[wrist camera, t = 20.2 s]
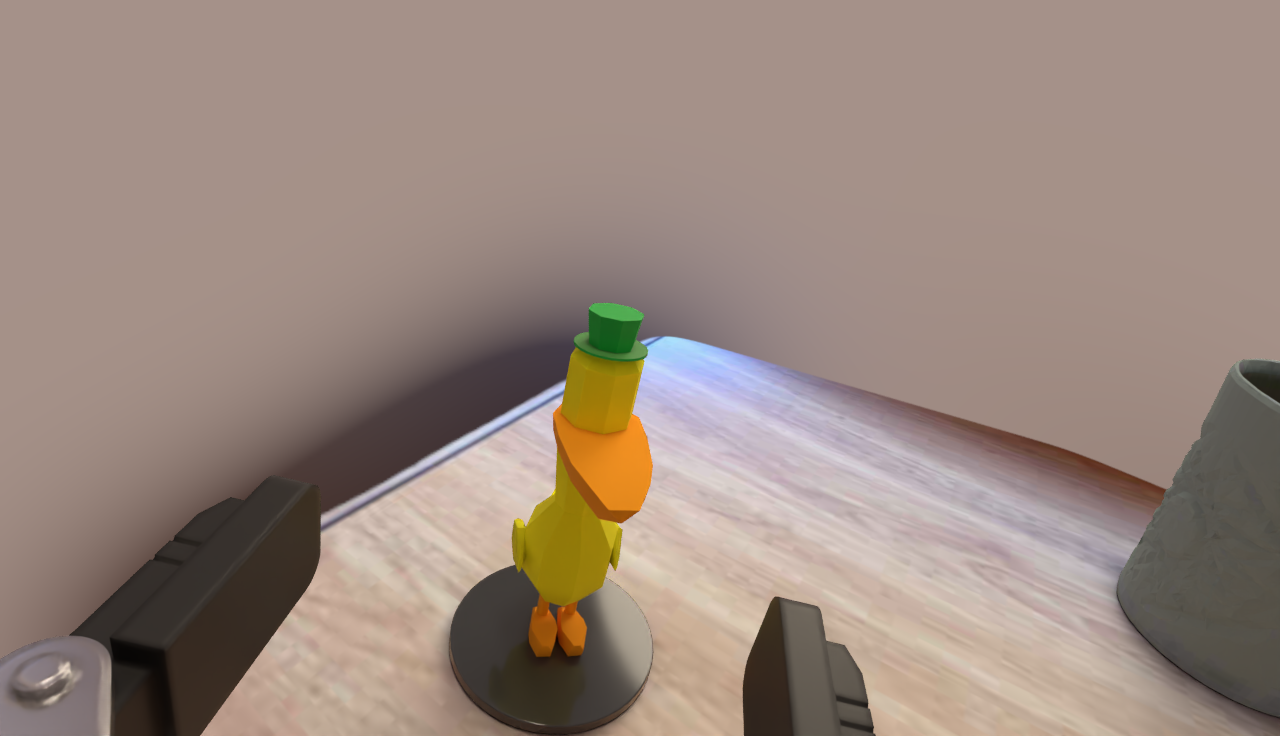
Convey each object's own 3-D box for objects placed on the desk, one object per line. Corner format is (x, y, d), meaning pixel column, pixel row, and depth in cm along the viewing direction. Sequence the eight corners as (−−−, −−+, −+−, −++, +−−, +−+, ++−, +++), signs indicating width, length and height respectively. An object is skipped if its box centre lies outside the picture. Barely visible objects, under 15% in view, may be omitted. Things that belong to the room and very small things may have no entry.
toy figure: (625, 722, 22) (724, 392, 16) (509, 732, 21) (576, 382, 15) (589, 565, 28) (654, 281, 22) (496, 566, 26) (541, 268, 21)
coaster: (464, 755, 20) (465, 746, 20) (438, 577, 26) (439, 570, 26) (681, 712, 23) (684, 704, 23) (615, 560, 29) (617, 553, 29)
